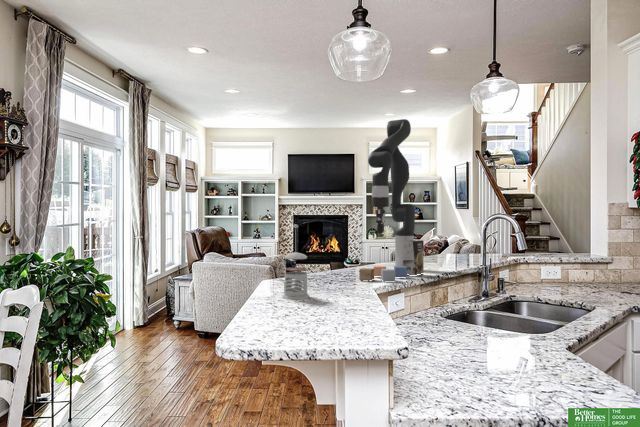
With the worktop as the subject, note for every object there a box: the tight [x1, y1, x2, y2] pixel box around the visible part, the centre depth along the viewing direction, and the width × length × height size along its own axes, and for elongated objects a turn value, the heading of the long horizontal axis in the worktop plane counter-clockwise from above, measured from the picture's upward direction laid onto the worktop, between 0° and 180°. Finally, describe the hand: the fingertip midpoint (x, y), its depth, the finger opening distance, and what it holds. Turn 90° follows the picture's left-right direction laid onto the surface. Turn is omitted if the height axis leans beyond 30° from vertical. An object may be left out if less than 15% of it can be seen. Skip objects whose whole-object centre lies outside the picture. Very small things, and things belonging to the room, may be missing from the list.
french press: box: [276, 223, 311, 300], centre depth 155 cm, size 10×12×25 cm
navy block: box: [393, 265, 408, 278], centre depth 199 cm, size 5×5×5 cm
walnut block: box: [358, 267, 375, 281], centre depth 191 cm, size 5×5×5 cm
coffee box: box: [403, 239, 425, 275], centre depth 206 cm, size 9×6×16 cm
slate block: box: [380, 268, 396, 282], centre depth 189 cm, size 5×5×5 cm
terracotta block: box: [373, 265, 387, 276], centre depth 201 cm, size 5×5×5 cm
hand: (380, 232), depth 201 cm, fingers open, 8 cm apart
